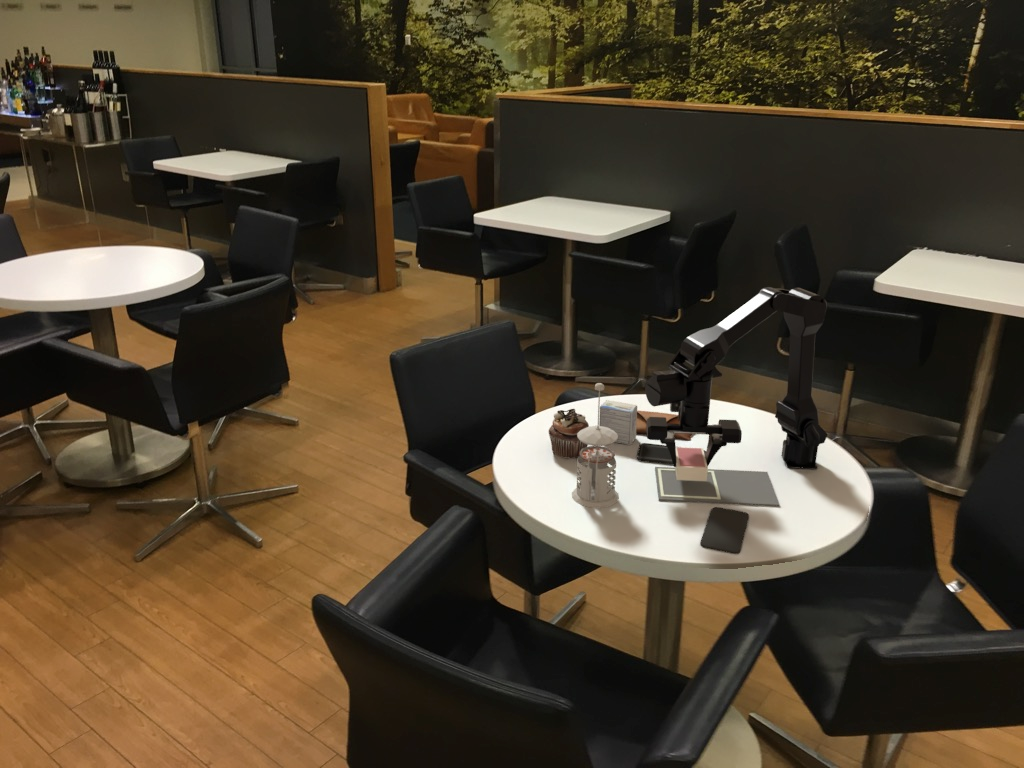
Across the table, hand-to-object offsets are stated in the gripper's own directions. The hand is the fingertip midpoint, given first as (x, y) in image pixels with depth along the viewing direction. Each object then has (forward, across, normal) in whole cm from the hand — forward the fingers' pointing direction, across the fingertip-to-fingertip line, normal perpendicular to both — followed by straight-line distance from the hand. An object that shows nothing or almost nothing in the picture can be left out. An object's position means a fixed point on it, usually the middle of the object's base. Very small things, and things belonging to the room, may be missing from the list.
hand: (689, 466), depth 176 cm
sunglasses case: (+5, +5, -27) cm, 28 cm away
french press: (+5, +20, +7) cm, 21 cm away
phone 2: (+5, +3, -13) cm, 14 cm away
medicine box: (+5, +15, -21) cm, 26 cm away
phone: (+5, -5, +17) cm, 19 cm away
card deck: (+1, 0, 0) cm, 1 cm away
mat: (+4, -5, 0) cm, 7 cm away
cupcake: (+5, +26, -14) cm, 30 cm away
